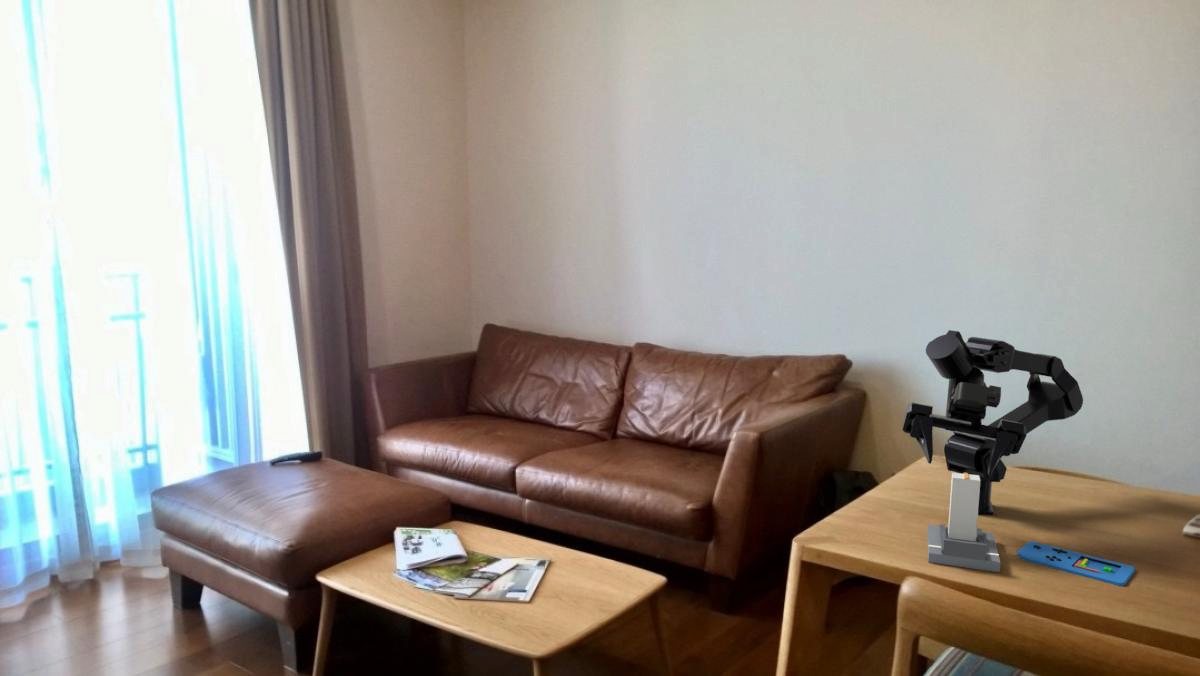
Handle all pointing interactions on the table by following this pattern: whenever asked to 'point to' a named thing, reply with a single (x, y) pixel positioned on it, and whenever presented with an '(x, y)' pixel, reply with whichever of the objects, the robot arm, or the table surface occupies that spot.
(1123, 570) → the handheld gaming device
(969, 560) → the grey socket base
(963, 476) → the grey upright block
